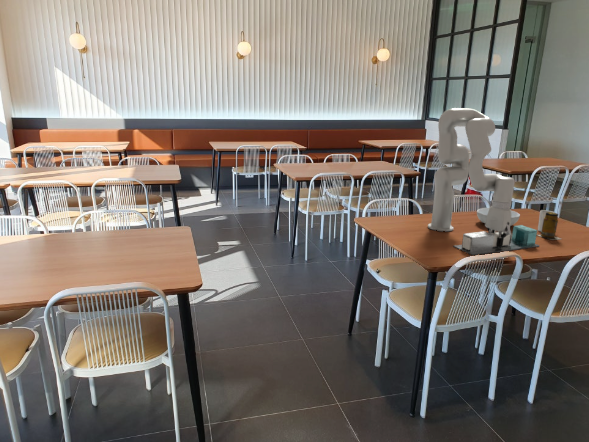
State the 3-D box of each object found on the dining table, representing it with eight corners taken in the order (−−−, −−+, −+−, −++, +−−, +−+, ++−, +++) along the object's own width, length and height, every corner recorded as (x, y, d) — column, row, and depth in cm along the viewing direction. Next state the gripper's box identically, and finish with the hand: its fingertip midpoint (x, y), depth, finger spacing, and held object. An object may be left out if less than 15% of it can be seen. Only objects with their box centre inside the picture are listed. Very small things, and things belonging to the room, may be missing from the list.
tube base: (472, 255, 185) (474, 239, 183) (453, 246, 196) (455, 231, 194) (539, 246, 199) (542, 231, 197) (517, 238, 210) (520, 223, 208)
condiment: (546, 234, 218) (551, 211, 215) (562, 239, 211) (566, 215, 208) (536, 235, 216) (540, 212, 213) (551, 240, 208) (555, 216, 205)
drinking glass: (550, 233, 220) (554, 214, 217) (535, 230, 223) (539, 212, 221) (552, 230, 225) (555, 211, 222) (537, 228, 229) (541, 209, 226)
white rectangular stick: (468, 250, 189) (470, 239, 188) (462, 247, 193) (463, 236, 191) (510, 244, 198) (512, 234, 196) (503, 241, 201) (505, 231, 200)
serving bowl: (480, 217, 247) (482, 205, 246) (521, 224, 236) (523, 211, 234) (470, 225, 231) (472, 212, 229) (513, 232, 219) (516, 219, 218)
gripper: (480, 201, 198) (475, 239, 203) (510, 210, 183) (503, 251, 188) (493, 200, 201) (487, 237, 206) (523, 208, 186) (516, 249, 191)
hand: (495, 243), depth 197 cm, fingers closed on white rectangular stick, 4 cm apart
